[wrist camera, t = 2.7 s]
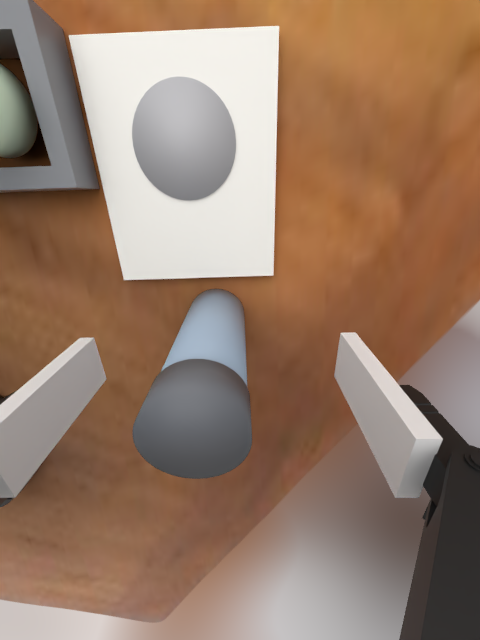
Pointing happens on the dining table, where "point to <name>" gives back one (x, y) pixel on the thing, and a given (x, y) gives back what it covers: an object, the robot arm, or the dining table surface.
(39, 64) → the button housing
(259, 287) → the dining table surface
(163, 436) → the capped blue-grey cylinder
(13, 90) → the button
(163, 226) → the white flat plate
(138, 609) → the dining table surface
